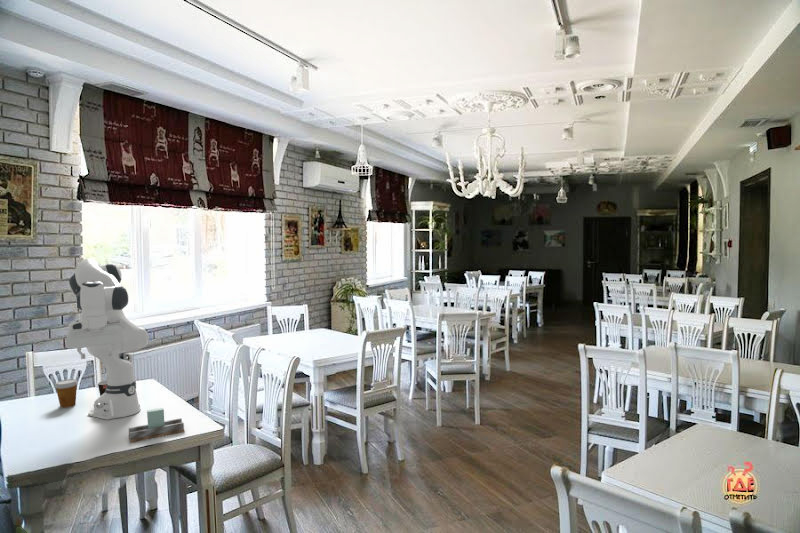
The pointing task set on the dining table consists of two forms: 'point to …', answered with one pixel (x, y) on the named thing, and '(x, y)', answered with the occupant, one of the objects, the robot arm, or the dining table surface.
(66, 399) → the disposable coffee cup
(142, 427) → the rail
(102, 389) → the coffee mug
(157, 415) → the green rectangular box
